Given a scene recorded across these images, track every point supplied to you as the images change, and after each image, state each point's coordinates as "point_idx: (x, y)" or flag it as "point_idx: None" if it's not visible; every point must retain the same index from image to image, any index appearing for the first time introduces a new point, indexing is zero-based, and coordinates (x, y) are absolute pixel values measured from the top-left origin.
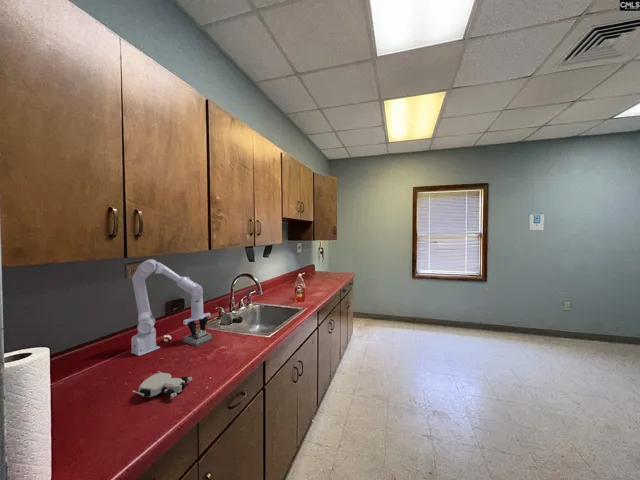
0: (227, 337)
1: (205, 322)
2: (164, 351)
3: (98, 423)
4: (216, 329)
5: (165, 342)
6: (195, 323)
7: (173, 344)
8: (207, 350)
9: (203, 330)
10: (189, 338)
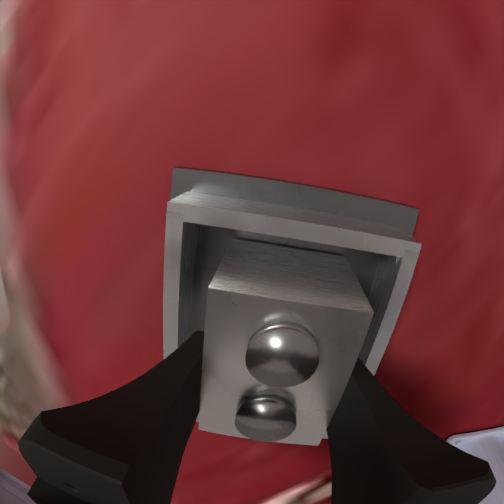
0: (91, 62)
1: (125, 420)
2: (495, 378)
3: None
4: (29, 327)
5: None
6: (446, 495)
7: None
8: (439, 25)
9: (228, 328)
10: (374, 372)
